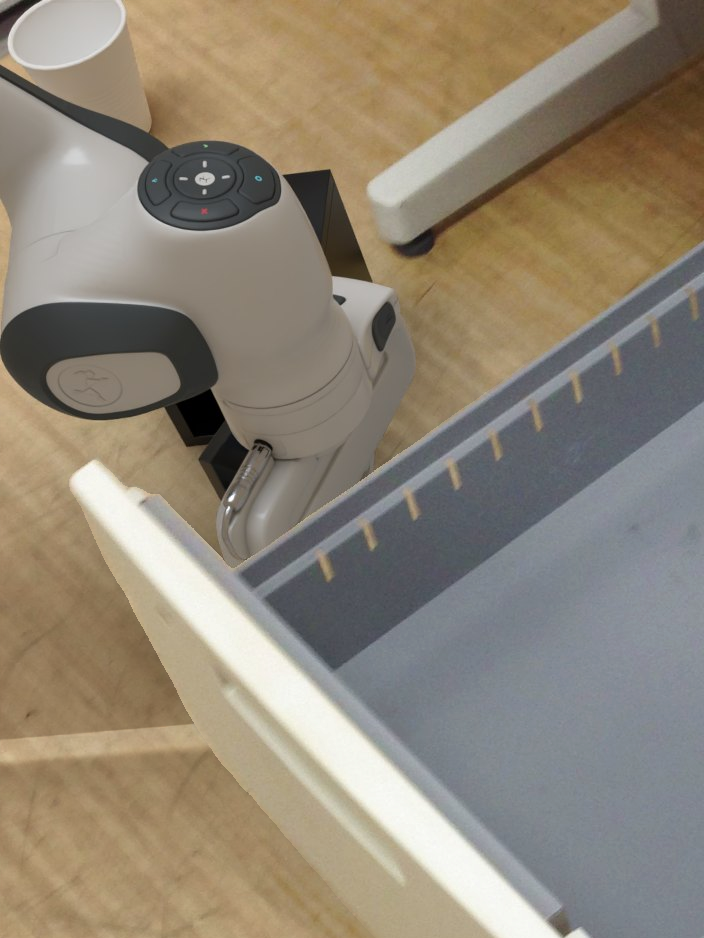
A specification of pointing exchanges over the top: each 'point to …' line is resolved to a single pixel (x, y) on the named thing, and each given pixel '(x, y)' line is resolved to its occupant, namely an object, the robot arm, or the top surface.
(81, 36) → the cup
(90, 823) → the top surface
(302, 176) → the cupboard
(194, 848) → the top surface
